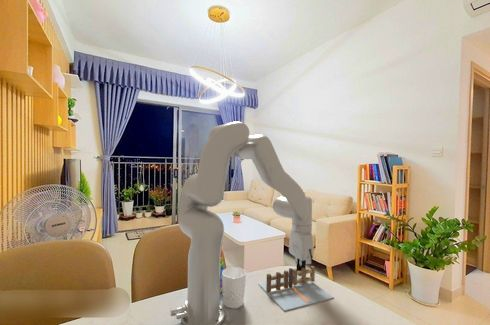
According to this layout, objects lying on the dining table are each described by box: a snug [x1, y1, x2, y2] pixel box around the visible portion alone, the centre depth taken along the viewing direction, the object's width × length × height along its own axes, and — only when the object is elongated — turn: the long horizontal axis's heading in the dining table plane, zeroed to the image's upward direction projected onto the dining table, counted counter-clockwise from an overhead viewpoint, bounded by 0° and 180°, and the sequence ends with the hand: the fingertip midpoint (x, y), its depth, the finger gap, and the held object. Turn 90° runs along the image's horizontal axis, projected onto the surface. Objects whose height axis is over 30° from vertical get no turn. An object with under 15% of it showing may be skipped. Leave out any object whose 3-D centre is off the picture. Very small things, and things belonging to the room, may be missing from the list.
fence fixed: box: [266, 267, 294, 293], centre depth 89 cm, size 10×1×7 cm, turn 113°
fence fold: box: [292, 265, 316, 285], centre depth 93 cm, size 9×1×6 cm, turn 111°
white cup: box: [221, 266, 247, 309], centre depth 81 cm, size 8×8×10 cm
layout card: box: [258, 275, 335, 313], centre depth 89 cm, size 20×18×1 cm
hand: (300, 274), depth 97 cm, fingers closed
